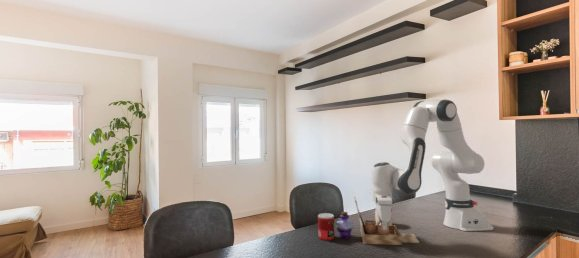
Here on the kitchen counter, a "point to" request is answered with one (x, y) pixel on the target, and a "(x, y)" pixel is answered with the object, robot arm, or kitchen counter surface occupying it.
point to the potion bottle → (344, 226)
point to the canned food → (326, 226)
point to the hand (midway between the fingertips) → (382, 225)
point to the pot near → (380, 229)
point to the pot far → (370, 226)
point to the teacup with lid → (378, 217)
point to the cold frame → (390, 239)
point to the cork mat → (409, 238)
